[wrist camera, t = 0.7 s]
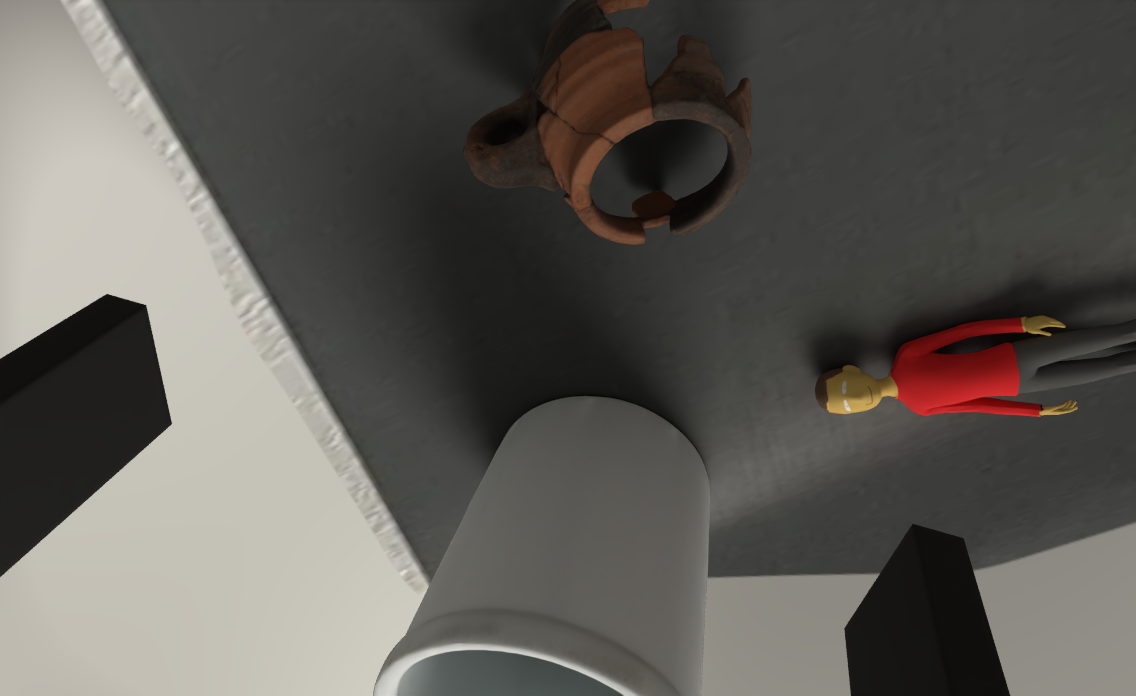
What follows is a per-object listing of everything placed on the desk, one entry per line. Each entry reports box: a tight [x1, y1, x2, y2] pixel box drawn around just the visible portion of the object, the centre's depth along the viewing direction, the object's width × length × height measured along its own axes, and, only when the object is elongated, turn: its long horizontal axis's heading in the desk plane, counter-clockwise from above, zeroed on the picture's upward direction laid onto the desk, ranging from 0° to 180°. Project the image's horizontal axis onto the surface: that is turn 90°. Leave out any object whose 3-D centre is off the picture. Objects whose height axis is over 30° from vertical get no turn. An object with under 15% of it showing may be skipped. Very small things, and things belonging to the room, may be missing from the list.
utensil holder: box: [373, 396, 710, 696], centre depth 38 cm, size 15×15×18 cm
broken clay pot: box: [463, 0, 752, 244], centre depth 31 cm, size 12×9×8 cm
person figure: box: [815, 316, 1136, 417], centre depth 33 cm, size 5×4×18 cm
